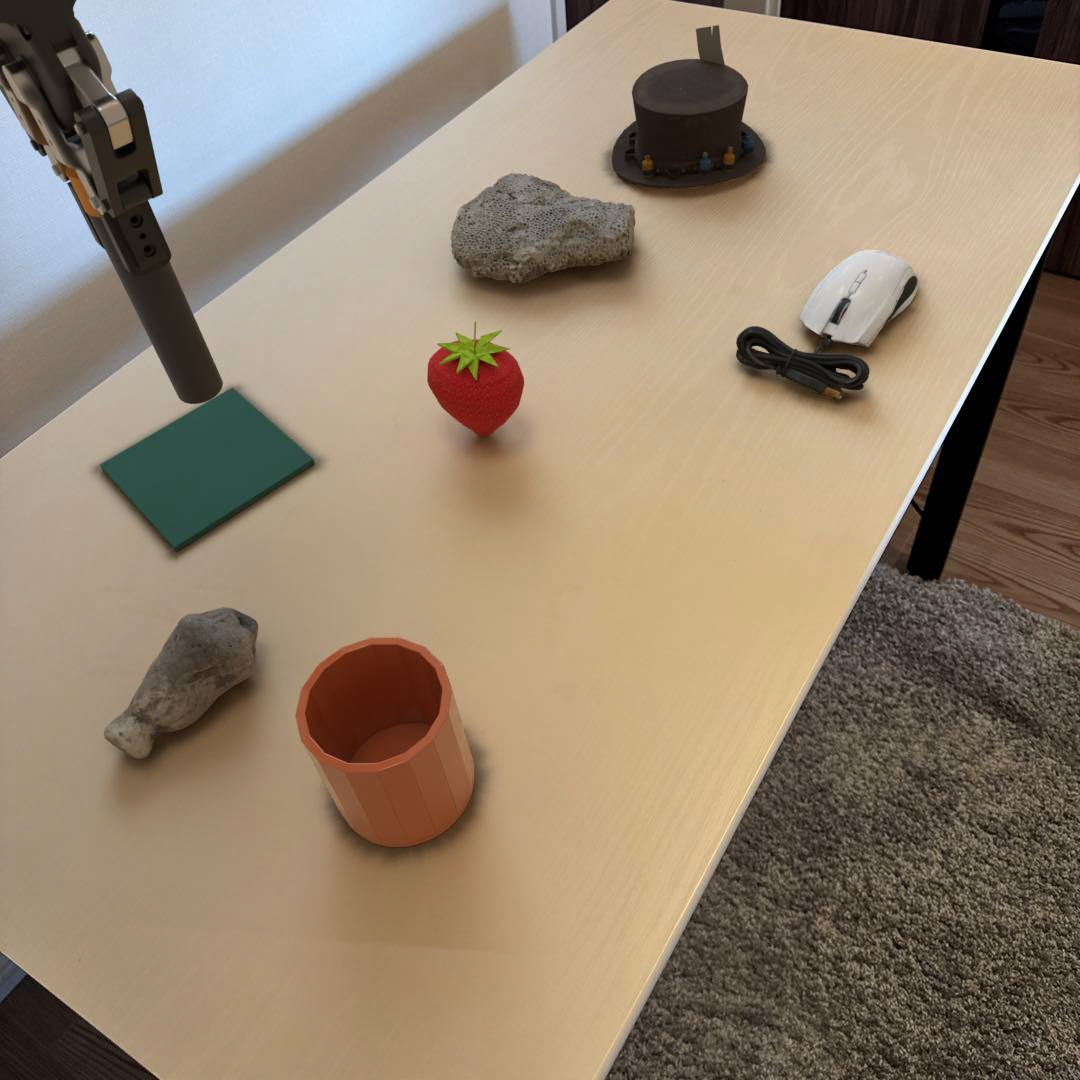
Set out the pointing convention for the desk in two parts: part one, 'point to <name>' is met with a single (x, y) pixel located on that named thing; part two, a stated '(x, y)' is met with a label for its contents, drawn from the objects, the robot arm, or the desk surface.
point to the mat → (205, 467)
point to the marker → (163, 317)
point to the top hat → (689, 123)
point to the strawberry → (476, 382)
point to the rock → (537, 230)
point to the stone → (187, 677)
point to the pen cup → (387, 740)
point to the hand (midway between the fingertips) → (136, 253)
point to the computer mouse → (837, 322)
